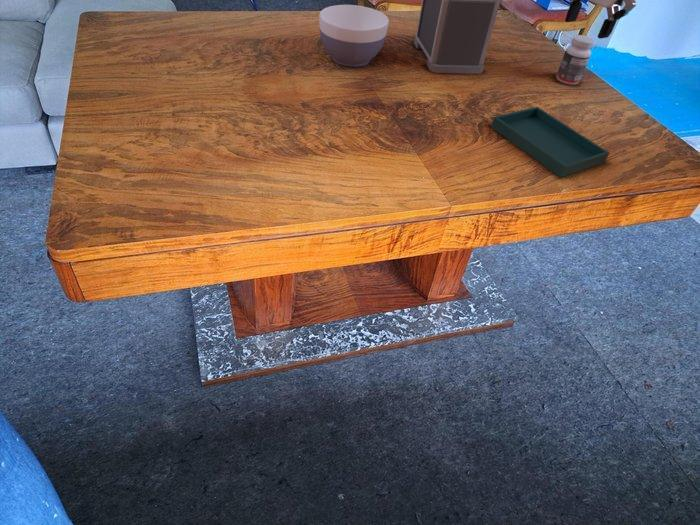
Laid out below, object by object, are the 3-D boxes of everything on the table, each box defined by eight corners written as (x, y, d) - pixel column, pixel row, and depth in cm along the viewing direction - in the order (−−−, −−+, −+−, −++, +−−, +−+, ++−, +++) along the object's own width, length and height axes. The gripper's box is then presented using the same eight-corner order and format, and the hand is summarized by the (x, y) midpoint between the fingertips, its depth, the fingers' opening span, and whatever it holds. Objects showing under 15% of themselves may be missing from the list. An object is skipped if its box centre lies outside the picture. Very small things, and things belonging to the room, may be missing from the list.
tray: (604, 163, 97) (609, 152, 96) (560, 177, 92) (565, 166, 91) (533, 116, 109) (536, 106, 107) (490, 127, 104) (493, 116, 102)
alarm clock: (483, 73, 122) (506, -9, 109) (431, 72, 120) (448, -12, 107) (460, 43, 135) (478, -34, 122) (412, 41, 133) (426, -37, 120)
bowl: (394, 57, 125) (400, 16, 118) (364, 79, 114) (369, 36, 108) (338, 40, 129) (340, -1, 123) (304, 60, 119) (305, 17, 112)
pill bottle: (554, 73, 126) (569, 32, 119) (577, 77, 126) (594, 36, 119) (556, 83, 122) (572, 41, 115) (580, 87, 122) (598, 45, 115)
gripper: (669, -46, 100) (627, 42, 112) (600, -69, 110) (568, 13, 122) (645, -44, 97) (605, 46, 109) (576, -68, 107) (546, 17, 119)
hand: (586, 29), depth 116 cm, fingers open, 9 cm apart
